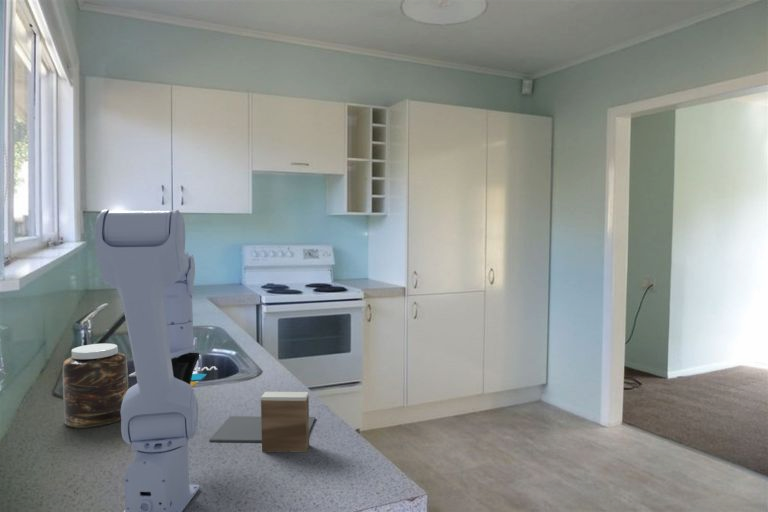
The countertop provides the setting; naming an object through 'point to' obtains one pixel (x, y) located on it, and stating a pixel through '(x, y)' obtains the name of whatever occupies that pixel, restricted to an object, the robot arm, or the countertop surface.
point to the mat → (242, 429)
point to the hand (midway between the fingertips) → (177, 398)
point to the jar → (94, 385)
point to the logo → (194, 376)
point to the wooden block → (285, 421)
